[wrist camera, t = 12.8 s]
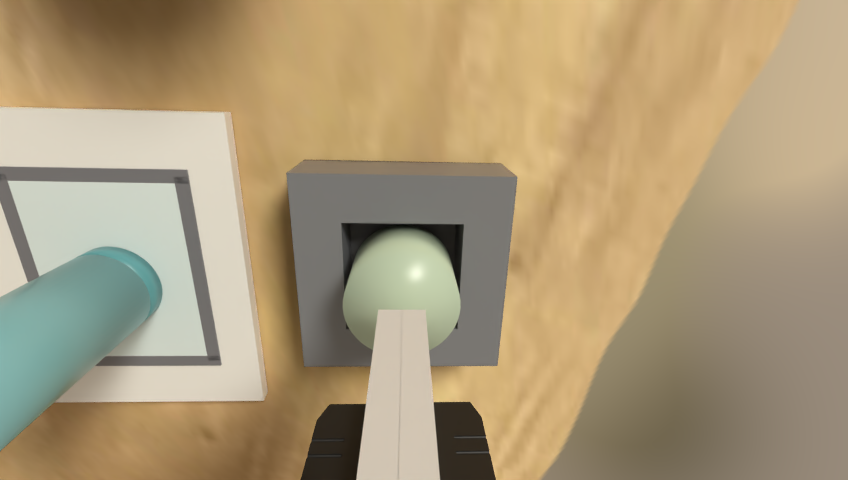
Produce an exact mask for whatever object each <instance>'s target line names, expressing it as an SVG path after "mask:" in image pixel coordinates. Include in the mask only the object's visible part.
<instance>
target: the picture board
mask: <svg viewBox="0 0 848 480" xmlns="http://www.w3.org/2000/svg"><path fill="white" fill-rule="evenodd" d="M106 246H110V247H118V248H123V249H126V250H129V251H131V252H133V253H135V254H137V255H139V256H140V257H142V258H143V259H144V260H145V261H147V262H148V263H149V264H150V265H151V266H152V268H153V269H154V270H155V271H156V273H157V275H158V277H159V279H160V281H161V285H162V294H163V295H162V300H161V303H160V305H159V307H158V309H157V310H156V311H155V312H154V313H153V314H152V315H151V316H150V317H149V318H148V319H146V320H145V321H144V322H143V323H142V324H141V325H140V326H139V327H138V328H136V329H135V330H134V331H133V332H132V333H131V334H130V335H129V336H128V337H126V338H125V339H124V340H123V341H122V342H121V343H120V344H119V345H118V346H116V347H115V348H114V349H113V350H112V351H111V352H110V353H109V354H108V355H106V356H105V357H104V358H103V359H102V360H101V361H100V362H99V363H98V364H96V365H95V366H94V367H93V368H92V369H91V370H90V371H89V372H88V373H86V374H85V375H84V376H83V377H82V378H81V379H80V380H79V381H78V382H76V383H75V384H74V385H73V386H72V387H71V388H70V389H69V390H68V391H66V392H65V393H64V394H63V395H62V396H61V397H60V398H59V399H57V400H56V401H55V402H173V401H264V399H265V397H266V395H267V393H268V389H267V381H266V374H265V366H264V359H263V351H262V344H261V336H260V328H259V321H258V313H257V306H256V298H255V291H254V283H253V276H252V268H251V261H250V253H249V245H248V238H247V230H246V223H245V215H244V208H243V200H242V193H241V185H240V178H239V170H238V162H237V155H236V147H235V140H234V132H233V125H232V117H231V112H207V111H165V110H123V109H81V108H39V107H0V297H1V296H3V295H5V294H7V293H9V292H11V291H13V290H15V289H16V288H18V287H20V286H22V285H24V284H26V283H28V282H30V281H32V280H34V279H36V278H38V277H40V276H41V275H43V274H45V273H47V272H49V271H51V270H53V269H55V268H57V267H59V266H61V265H63V264H65V263H66V262H68V261H70V260H72V259H74V258H76V257H78V256H80V255H82V254H84V253H86V252H88V251H90V250H92V249H94V248H98V247H106Z"/></svg>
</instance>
